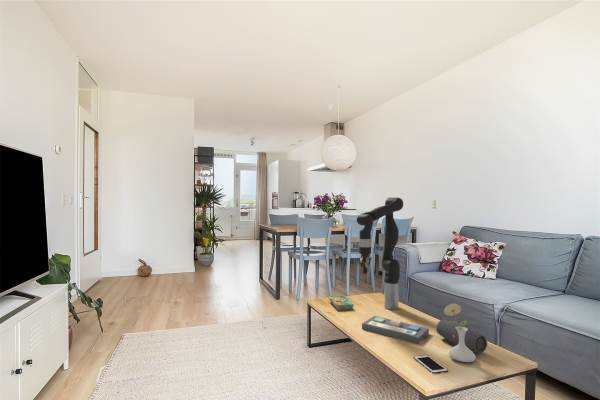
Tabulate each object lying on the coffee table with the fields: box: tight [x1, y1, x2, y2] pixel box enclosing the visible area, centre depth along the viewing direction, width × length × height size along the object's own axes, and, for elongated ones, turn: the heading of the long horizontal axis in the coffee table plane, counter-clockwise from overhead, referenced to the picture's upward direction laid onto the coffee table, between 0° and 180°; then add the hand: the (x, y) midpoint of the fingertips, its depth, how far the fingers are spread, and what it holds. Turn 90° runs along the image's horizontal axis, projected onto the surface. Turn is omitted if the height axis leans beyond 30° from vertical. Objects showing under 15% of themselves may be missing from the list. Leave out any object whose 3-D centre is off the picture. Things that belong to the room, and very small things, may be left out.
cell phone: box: [413, 354, 449, 374], centre depth 143 cm, size 8×15×1 cm, turn 14°
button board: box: [361, 315, 430, 345], centre depth 180 cm, size 16×32×4 cm, turn 51°
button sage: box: [374, 316, 385, 323], centre depth 188 cm, size 5×5×4 cm
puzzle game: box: [328, 295, 355, 311], centre depth 226 cm, size 12×5×20 cm
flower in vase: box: [443, 303, 477, 363], centre depth 148 cm, size 13×11×25 cm
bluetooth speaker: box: [436, 319, 488, 354], centre depth 161 cm, size 23×9×10 cm, turn 23°
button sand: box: [390, 318, 403, 327], centre depth 181 cm, size 5×5×4 cm
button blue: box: [408, 324, 420, 332], centre depth 175 cm, size 5×5×4 cm
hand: (365, 273), depth 205 cm, fingers closed
